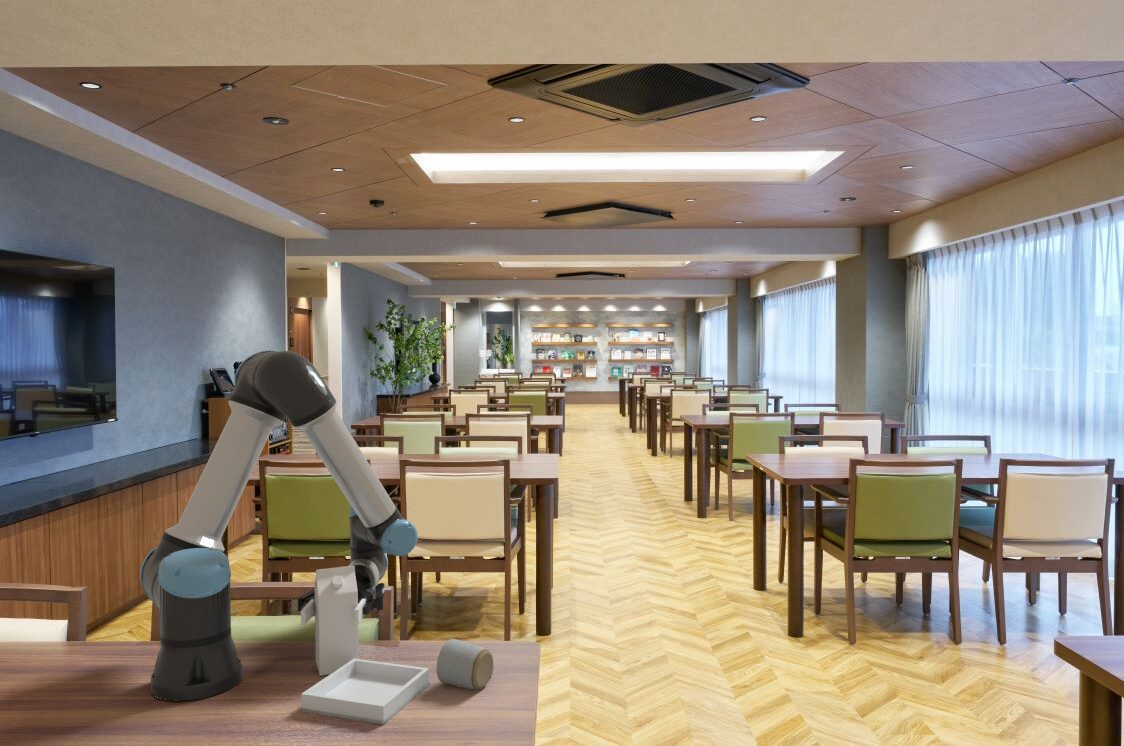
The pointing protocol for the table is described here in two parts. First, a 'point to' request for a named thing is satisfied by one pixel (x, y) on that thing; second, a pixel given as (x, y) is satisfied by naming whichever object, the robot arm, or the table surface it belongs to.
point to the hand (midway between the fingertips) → (329, 617)
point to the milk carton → (335, 618)
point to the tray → (366, 691)
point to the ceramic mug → (464, 665)
